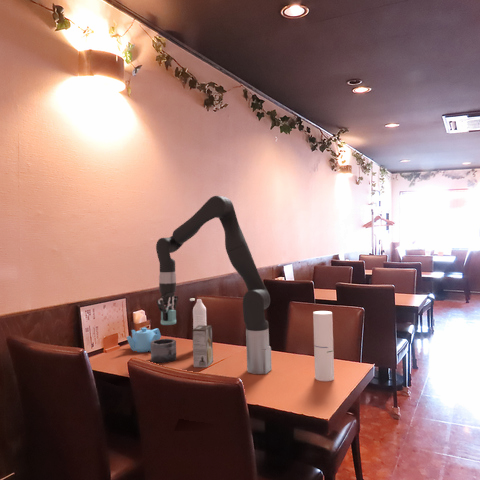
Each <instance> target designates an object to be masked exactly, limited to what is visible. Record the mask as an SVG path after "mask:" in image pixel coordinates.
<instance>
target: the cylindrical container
mask: <svg viewBox="0 0 480 480" xmlns="http://www.w3.org/2000/svg"><path fill="white" fill-rule="evenodd" d="M312 316H313V319H312V320H313V350H314V351H313V352H314V379H315V380H317V381H320V382H330V381H333V380H335V366H334V365H335V362H334V361H335V360H334V359H335V358H334V357H335V356H334V332H333V331H334V328H333V327H334V326H333V325H334V324H333V312H332V311H330V310H329V311H328V310H317V311H313V312H312Z"/></svg>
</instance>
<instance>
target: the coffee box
mask: <svg viewBox="0 0 480 480" xmlns="http://www.w3.org/2000/svg"><path fill="white" fill-rule="evenodd" d="M191 332H192V355H193V368H208V367H210V365H211V364H212V363H213V362H214V349H213V326H212V325H211V324H210V325H209V324H207V325H198V326H197V327H196V328H194V329H192V331H191Z"/></svg>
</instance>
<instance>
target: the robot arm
mask: <svg viewBox="0 0 480 480" xmlns="http://www.w3.org/2000/svg"><path fill="white" fill-rule="evenodd" d="M235 210H236V209H235V208H234V204H233V202H232V200H231V199H230V198H228V197H227V196H222V195H213V196H212V197H210V198H209V199H207V200H206V202H205V203H204V204H203V205H202V206H201V207H200V208H199V209H198V210H197V211H196V212H195V213H194V214H193V215H191V217H190V218H188V219H187V220H186V221H184V222H183V223H181V225H179V226H178V227H177V228H175V229H174V230H173V231H172V235H171V236H169V237H161V238H159V239H158V240H157V241H156V245H155V249H156V255H157V258H158V263H159V276H158V281H159V282H158V283H159V284H158V289H159V290H158V291H159V293H160V294H161V295H160V298H159V299H156V303H157V307H158V310H159V312H160V313H161V312H163V320H164V321H168V309H170V310H176V309H177V306H178V300H179V296H177V295H175V293H176V292H177V274H176V260H175V259H174V258H172V257H171V254H172V253H175V252H176V251H178V250H179V249H180V248H181V247H182V246H183V245H184V243H186V242H188V241H189V240H190V239H191V238H193V237H194V236H195V235H196V234H197V233H198V232H199V231H200V229H201V228H202V226H204V225H205V224H206V223H209V221H211V220H213V219H215V218H216V219H217V218H218V219H219V221H220V223H221V225H222V228H223V231H224V245H225V246H224V247H225V251H226V254H227V256H228V259H229V262H230V264H231V266H232V267H233V268H234V269H235V271H236V272H237V273H238V274H239V276H240V277H241V278H242V279H243V281H244V283H245V286H246V288H247V291H246V292H245V293H244V296H242V311H243V312H242V314H243V322H244V325H245V336H246V337H245V342H246V343H245V344H246V371H247V373H250V374H253V375H262V374H263V375H267V374H268V373H269V372H270V371H271V370H272V347H271V346H270V334H269V333H270V332H269V330H270V329H269V328H270V327H269V321H268V320H266V318H265V310H266V309H268V308H269V306H270V304H271V297H270V296H271V295H270V293H269V291H268V289H267V287H266V285H265V284H264V281H263V280H262V277H261V275H260V274H259V272H258V268H257V265H256V263H255V261H254V258H253V256H252V252H251V250H250V247H249V245H248V243H247V240H246V238H245V236H244V233H243V231H242V228H241V226H240V224H239V221H238V218H237V214H236V211H235ZM165 309H166V310H165Z"/></svg>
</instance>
